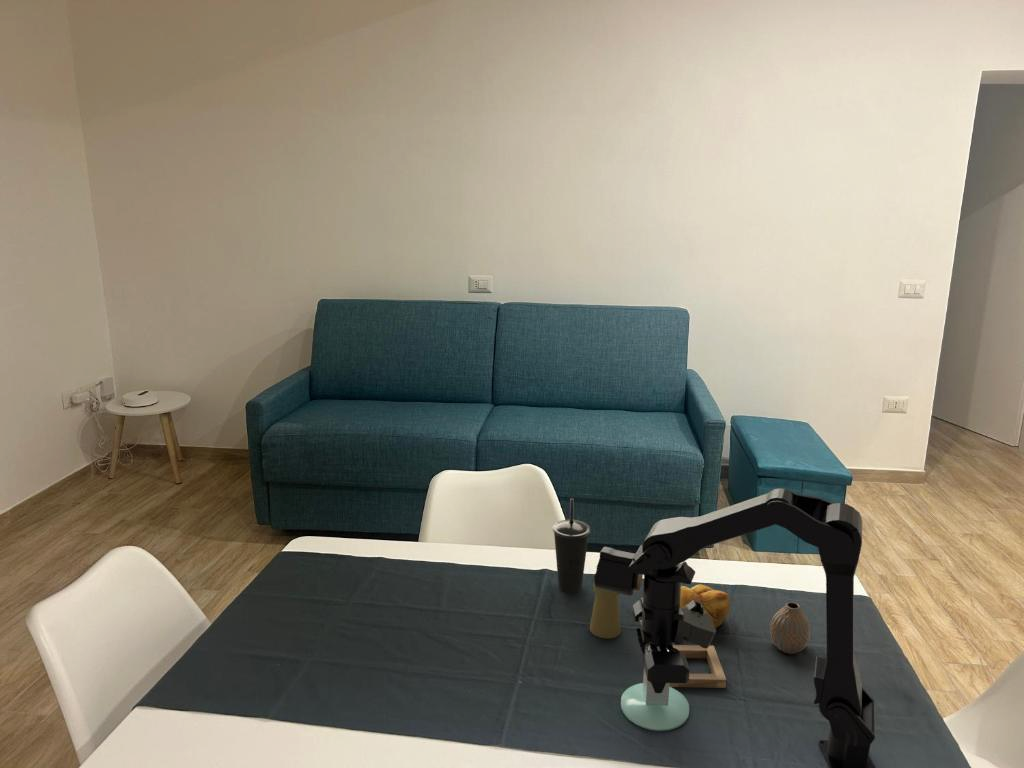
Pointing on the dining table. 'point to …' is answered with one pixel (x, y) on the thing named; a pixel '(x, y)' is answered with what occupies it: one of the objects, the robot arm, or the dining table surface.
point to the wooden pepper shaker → (605, 614)
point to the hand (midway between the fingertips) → (656, 684)
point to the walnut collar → (717, 676)
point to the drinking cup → (570, 552)
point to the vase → (790, 629)
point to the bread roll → (707, 601)
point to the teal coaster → (654, 709)
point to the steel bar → (649, 692)
